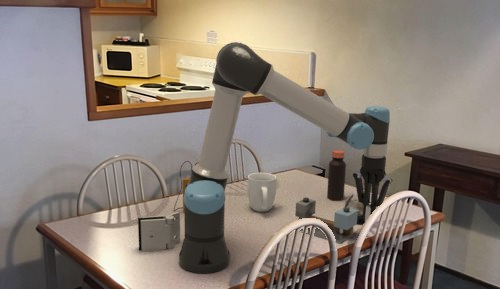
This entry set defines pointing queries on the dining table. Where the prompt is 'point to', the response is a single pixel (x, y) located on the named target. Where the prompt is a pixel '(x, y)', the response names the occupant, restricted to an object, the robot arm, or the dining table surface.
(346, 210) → the block
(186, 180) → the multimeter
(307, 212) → the trammel beam
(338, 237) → the bolt plate
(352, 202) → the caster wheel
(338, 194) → the bottle
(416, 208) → the dining table surface
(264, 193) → the mug
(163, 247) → the hinge
